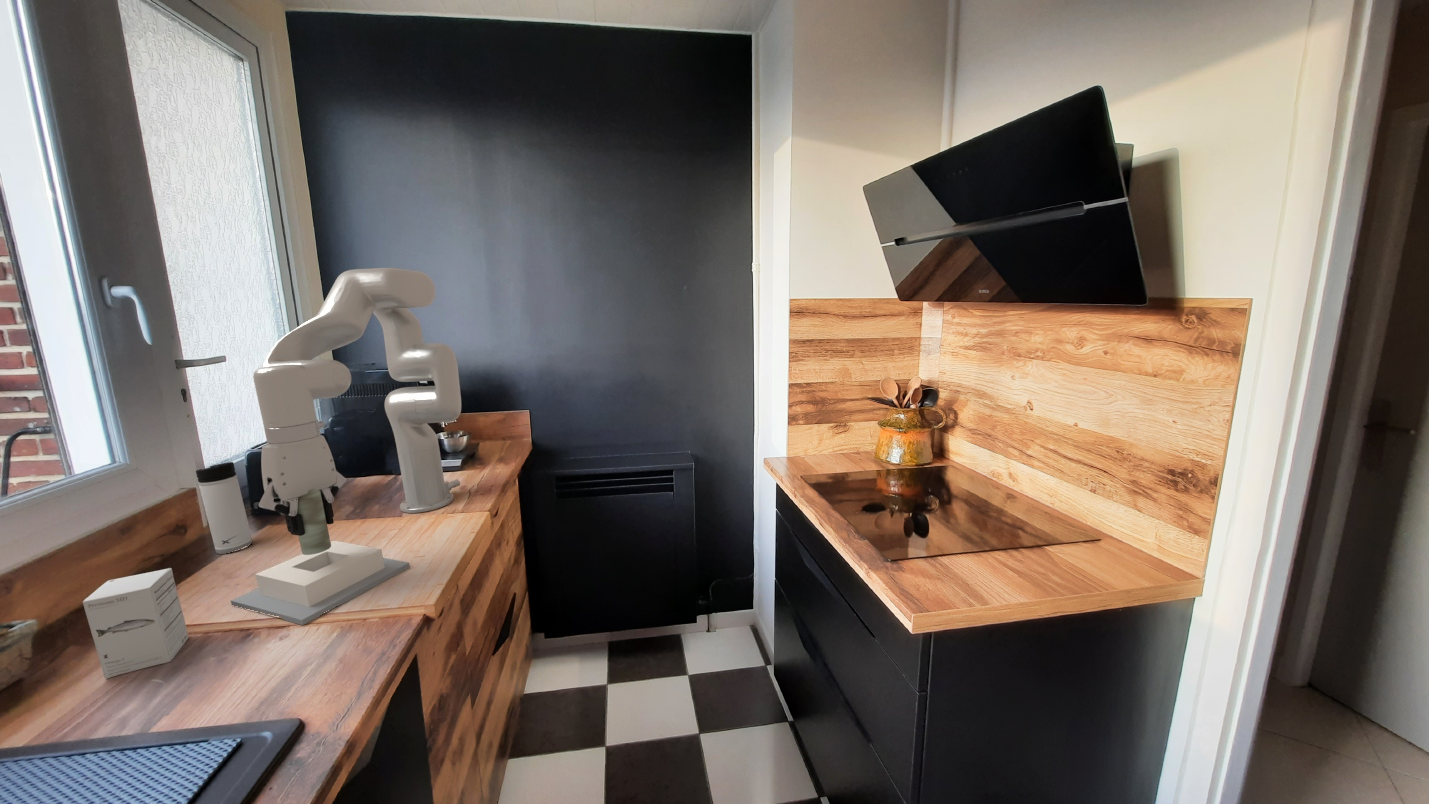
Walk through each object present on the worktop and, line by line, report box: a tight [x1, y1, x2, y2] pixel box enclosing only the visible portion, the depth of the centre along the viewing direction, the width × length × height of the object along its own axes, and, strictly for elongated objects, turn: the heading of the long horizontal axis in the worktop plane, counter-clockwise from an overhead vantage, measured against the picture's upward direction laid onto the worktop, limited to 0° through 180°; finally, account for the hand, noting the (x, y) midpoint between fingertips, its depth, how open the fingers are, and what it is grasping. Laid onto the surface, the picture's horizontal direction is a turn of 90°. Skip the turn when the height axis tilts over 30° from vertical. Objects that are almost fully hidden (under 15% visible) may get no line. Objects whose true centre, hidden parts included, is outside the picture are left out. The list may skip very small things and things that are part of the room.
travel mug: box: [195, 461, 253, 555], centre depth 117 cm, size 6×7×20 cm
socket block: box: [230, 540, 411, 626], centre depth 100 cm, size 20×20×5 cm
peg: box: [297, 489, 332, 555], centre depth 97 cm, size 4×4×12 cm
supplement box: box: [82, 567, 189, 680], centre depth 80 cm, size 7×7×13 cm
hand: (312, 527), depth 98 cm, fingers closed on peg, 4 cm apart
